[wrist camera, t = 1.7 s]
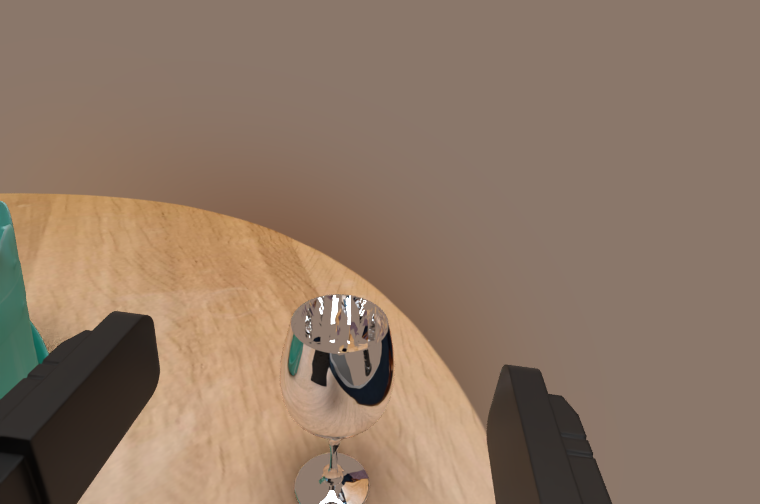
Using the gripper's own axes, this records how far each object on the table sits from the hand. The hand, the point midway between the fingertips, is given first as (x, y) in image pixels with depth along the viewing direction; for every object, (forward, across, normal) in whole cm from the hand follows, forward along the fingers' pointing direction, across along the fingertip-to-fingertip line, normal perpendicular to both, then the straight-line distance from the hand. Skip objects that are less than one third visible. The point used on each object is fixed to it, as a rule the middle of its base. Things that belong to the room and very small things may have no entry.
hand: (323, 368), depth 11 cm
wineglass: (+10, 0, +18) cm, 21 cm away
